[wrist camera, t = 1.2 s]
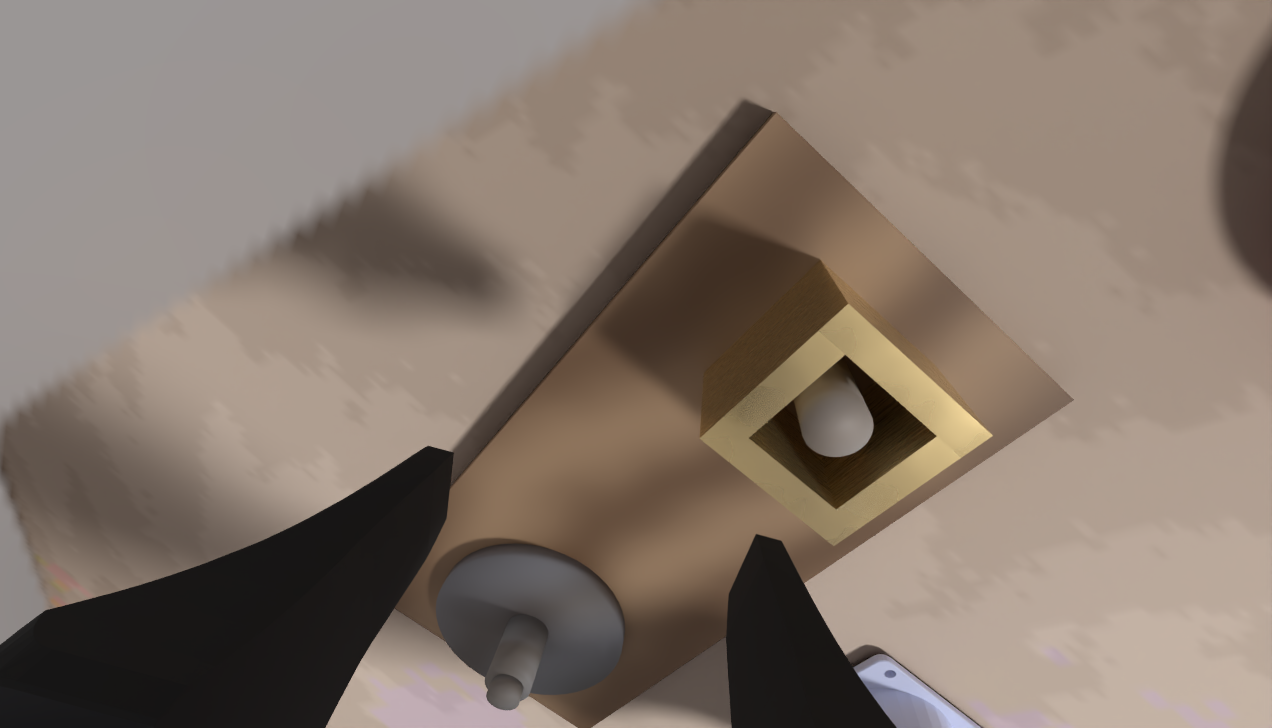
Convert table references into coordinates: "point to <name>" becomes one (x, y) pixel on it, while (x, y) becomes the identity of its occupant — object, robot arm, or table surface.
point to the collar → (898, 399)
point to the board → (686, 443)
